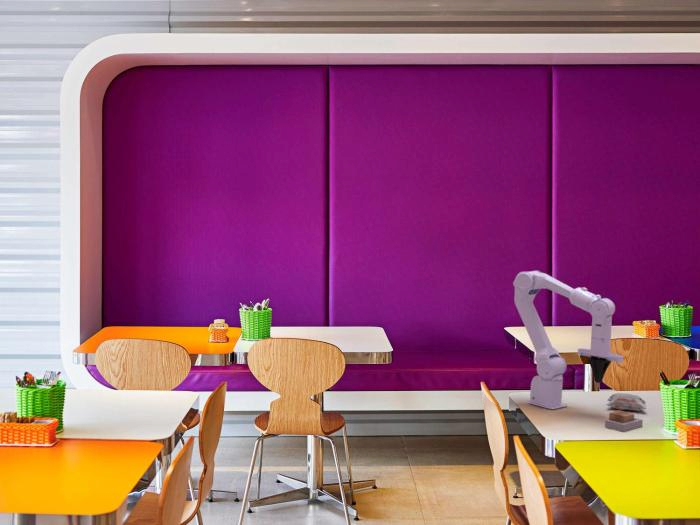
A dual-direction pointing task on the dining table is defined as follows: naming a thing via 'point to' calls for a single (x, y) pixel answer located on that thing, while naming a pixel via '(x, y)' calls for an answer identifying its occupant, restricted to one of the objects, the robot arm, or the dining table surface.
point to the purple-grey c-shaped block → (624, 425)
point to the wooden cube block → (621, 416)
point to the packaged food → (626, 402)
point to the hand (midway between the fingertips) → (598, 381)
